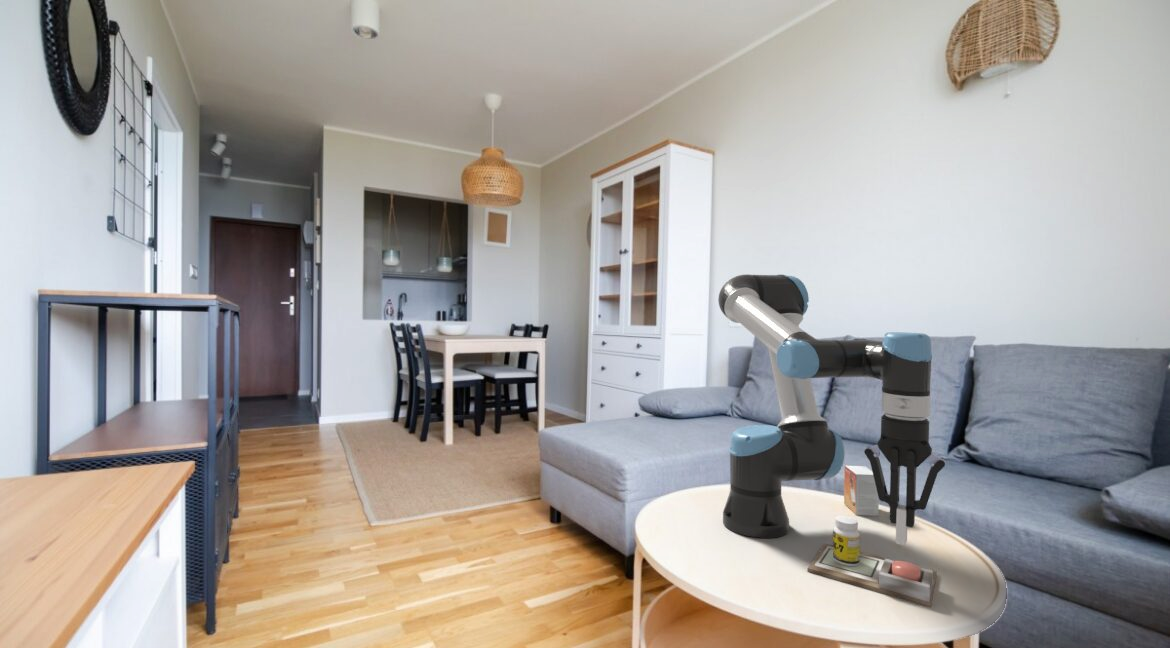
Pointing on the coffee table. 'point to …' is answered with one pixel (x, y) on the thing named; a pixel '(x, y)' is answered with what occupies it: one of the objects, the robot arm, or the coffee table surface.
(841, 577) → the board
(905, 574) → the button
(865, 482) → the small box
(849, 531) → the supplement bottle
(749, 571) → the coffee table surface
